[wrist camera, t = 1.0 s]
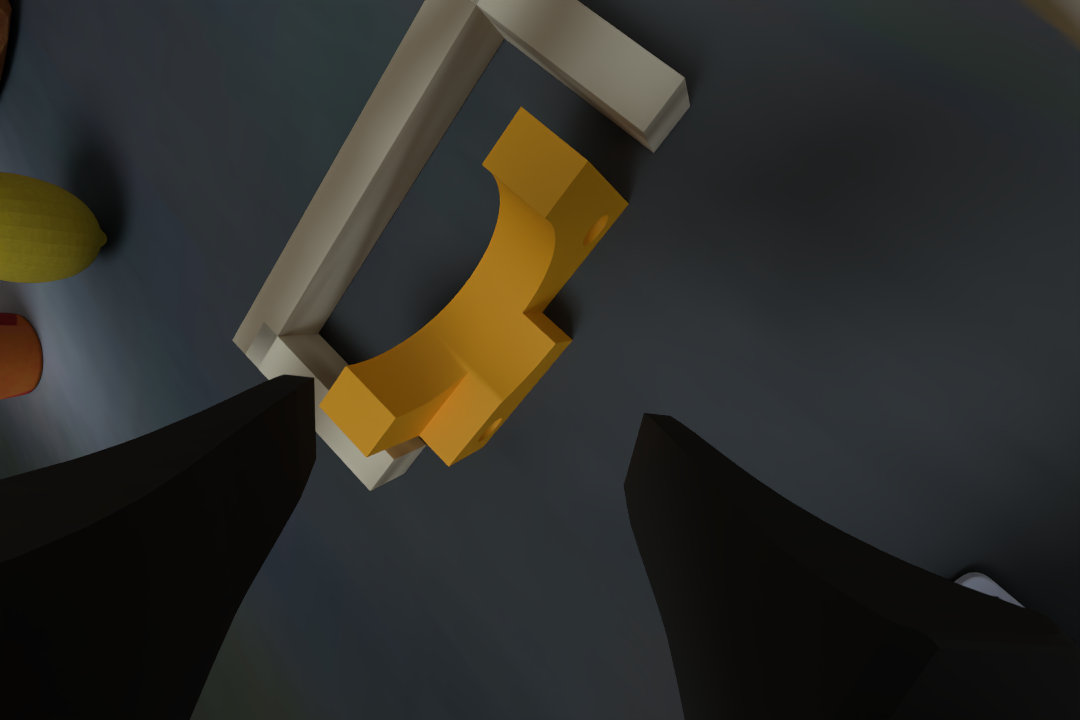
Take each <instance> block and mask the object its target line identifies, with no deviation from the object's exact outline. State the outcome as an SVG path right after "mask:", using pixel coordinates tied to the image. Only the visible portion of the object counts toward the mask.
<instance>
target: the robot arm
mask: <svg viewBox="0 0 1080 720" xmlns="http://www.w3.org/2000/svg"><path fill="white" fill-rule="evenodd" d="M315 460H316V430H315V383H314V377H305V376H296V375H286V374H283V375H281V376H278V377H275V378H273V379H270V380H268V381H266V382H263V383H261V384H259V385H257V386H255V387H253V388H250V389H248V390H246V391H244V392H242V393H240V394H238V395H236V396H233V397H231V398H229V399H227V400H225V401H223V402H221V403H218V404H216V405H214V406H212V407H210V408H208V409H206V410H203V411H201V412H199V413H196V414H194V415H192V416H189V417H187V418H185V419H182V420H180V421H177V422H175V423H173V424H170V425H168V426H165V427H163V428H161V429H158V430H156V431H154V432H151V433H149V434H146V435H143V436H141V437H138V438H136V439H133V440H130V441H127V442H125V443H122V444H119V445H116V446H113V447H110V448H107V449H104V450H101V451H98V452H95V453H92V454H89V455H86V456H83V457H80V458H76V459H73V460H70V461H66V462H63V463H59V464H55V465H52V466H48V467H44V468H41V469H37V470H33V471H30V472H26V473H23V474H19V475H15V476H12V477H8V478H4V479H1V480H0V720H190V718H191V715H192V713H193V710H194V708H195V706H196V703H197V701H198V699H199V696H200V694H201V691H202V689H203V687H204V684H205V682H206V680H207V677H208V675H209V673H210V670H211V668H212V665H213V663H214V661H215V659H216V656H217V654H218V652H219V650H220V647H221V645H222V643H223V641H224V638H225V636H226V634H227V632H228V629H229V627H230V625H231V623H232V621H233V618H234V616H235V614H236V612H237V610H238V608H239V606H240V604H241V602H242V600H243V598H244V597H245V595H246V593H247V591H248V589H249V587H250V586H251V584H252V582H253V580H254V579H255V577H256V575H257V573H258V572H259V570H260V568H261V567H262V565H263V563H264V561H265V560H266V558H267V556H268V554H269V553H270V551H271V549H272V547H273V546H274V544H275V542H276V541H277V539H278V537H279V535H280V534H281V532H282V530H283V528H284V527H285V525H286V523H287V521H288V520H289V518H290V516H291V514H292V512H293V511H294V509H295V507H296V505H297V503H298V502H299V500H300V498H301V495H302V493H303V491H304V488H305V486H306V483H307V481H308V478H309V476H310V473H311V470H312V468H313V465H314V463H315ZM624 490H625V496H626V502H627V508H628V513H629V518H630V523H631V527H632V530H633V533H634V536H635V539H636V542H637V546H638V549H639V552H640V555H641V558H642V561H643V564H644V567H645V569H646V572H647V575H648V578H649V581H650V584H651V587H652V590H653V593H654V596H655V599H656V602H657V605H658V608H659V611H660V614H661V617H662V621H663V624H664V627H665V631H666V634H667V638H668V643H669V647H670V652H671V656H672V660H673V665H674V669H675V674H676V678H677V683H678V687H679V692H680V697H681V702H682V707H683V712H684V717H685V720H1080V646H1079V645H1078V644H1076V643H1075V642H1074V641H1073V640H1072V639H1071V638H1070V637H1069V636H1068V635H1067V634H1065V633H1064V632H1063V631H1062V630H1061V629H1060V628H1059V627H1058V626H1057V625H1056V624H1054V623H1053V622H1052V621H1050V620H1049V619H1048V618H1046V617H1045V616H1044V615H1042V614H1040V613H1038V612H1035V611H1032V610H1029V609H1027V608H1025V607H1024V606H1023V605H1021V604H1020V603H1019V602H1018V601H1017V600H1015V599H1014V598H1013V597H1012V596H1011V595H1009V594H1008V593H1007V592H1006V591H1005V590H1004V589H1002V588H1001V587H1000V586H999V585H998V584H996V583H995V582H994V581H993V580H992V579H990V578H989V577H988V576H986V575H984V574H982V573H977V572H972V573H967V574H965V575H963V576H961V577H960V578H959V579H957V580H956V581H955V582H953V581H950V580H948V579H945V578H943V577H941V576H938V575H936V574H933V573H931V572H929V571H926V570H924V569H922V568H919V567H917V566H914V565H912V564H910V563H907V562H905V561H903V560H901V559H899V558H896V557H894V556H892V555H890V554H888V553H885V552H883V551H881V550H879V549H877V548H875V547H873V546H871V545H869V544H867V543H865V542H863V541H861V540H859V539H857V538H855V537H853V536H851V535H849V534H847V533H845V532H843V531H841V530H839V529H837V528H836V527H834V526H832V525H830V524H828V523H826V522H825V521H823V520H821V519H819V518H818V517H816V516H814V515H813V514H811V513H809V512H807V511H806V510H804V509H802V508H801V507H799V506H797V505H795V504H794V503H792V502H791V501H789V500H787V499H786V498H784V497H783V496H781V495H780V494H778V493H777V492H775V491H774V490H772V489H771V488H769V487H768V486H766V485H765V484H763V483H762V482H760V481H759V480H757V479H756V478H754V477H753V476H752V475H750V474H749V473H747V472H746V471H745V470H743V469H742V468H741V467H739V466H738V465H736V464H735V463H734V462H732V461H731V460H730V459H728V458H727V457H726V456H724V455H723V454H722V453H720V452H719V451H718V450H717V449H715V448H714V447H713V446H711V445H710V444H709V443H707V442H706V441H705V440H703V439H702V438H701V437H700V436H698V435H697V434H696V433H694V432H693V431H692V430H690V429H689V428H688V427H686V426H685V425H683V424H682V423H681V422H679V421H677V420H676V419H674V418H673V417H671V416H666V415H657V414H648V413H644V415H643V419H642V422H641V426H640V430H639V433H638V437H637V440H636V444H635V447H634V451H633V454H632V458H631V462H630V465H629V469H628V472H627V476H626V479H625V483H624ZM993 596H998V597H999V598H996V597H993Z"/></svg>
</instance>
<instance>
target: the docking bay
mask: <svg viewBox="0 0 1080 720" xmlns="http://www.w3.org/2000/svg"><path fill="white" fill-rule="evenodd" d="M504 38H505V39H506V40H507V41H509V42H510V43H511V44H512V45H514V46H515V47H516V48H518V49H519V50H520V51H522V52H523V53H524V54H525V55H527V56H528V57H529V58H531V59H532V60H533V61H535V62H536V63H537V64H538V65H540V66H541V67H542V68H544V69H545V70H546V71H548V72H549V73H550V74H551V75H553V76H554V77H555V78H557V79H558V80H559V81H561V82H562V83H563V84H564V85H566V86H567V87H568V88H570V89H571V90H572V91H574V92H575V93H576V94H577V95H579V96H580V97H581V98H583V99H584V100H585V101H587V102H588V103H589V104H590V105H592V106H593V107H594V108H596V109H597V110H598V111H600V112H601V113H602V114H603V115H605V116H606V117H607V118H609V119H610V120H611V121H613V122H614V123H615V124H616V125H618V126H619V127H620V128H622V129H623V130H624V131H625V132H627V133H628V134H629V135H631V136H632V137H633V138H635V139H636V140H637V141H638V142H640V143H641V144H642V145H644V146H645V147H646V148H648V149H649V150H650V151H651V152H653V153H654V152H655V151H656V150H657V148H658V147H659V146H660V144H661V143H662V142H663V141H664V139H665V138H666V137H667V135H668V134H669V133H670V132H671V130H672V129H673V128H674V127H675V125H676V124H677V123H678V121H679V120H680V119H681V118H682V116H683V115H684V114H685V112H686V111H687V110H688V109H689V107H690V103H689V97H688V92H687V87H686V81H685V78H684V77H683V76H682V75H680V74H679V73H677V72H676V71H675V70H673V69H672V68H670V67H669V66H668V65H666V64H665V63H664V62H662V61H661V60H659V59H658V58H657V57H655V56H654V55H652V54H651V53H650V52H648V51H647V50H645V49H644V48H643V47H641V46H640V45H639V44H637V43H636V42H634V41H633V40H632V39H630V38H629V37H627V36H626V35H625V34H623V33H622V32H621V31H619V30H618V29H616V28H615V27H614V26H612V25H611V24H609V23H608V22H607V21H605V20H604V19H602V18H601V17H600V16H598V15H597V14H596V13H594V12H593V11H591V10H590V9H589V8H587V7H586V6H584V5H583V4H582V3H580V2H579V1H577V0H425V2H424V3H423V5H422V7H421V9H420V10H419V12H418V14H417V16H416V17H415V19H414V21H413V23H412V25H411V26H410V28H409V30H408V32H407V33H406V35H405V37H404V39H403V40H402V42H401V44H400V46H399V47H398V49H397V51H396V53H395V54H394V56H393V58H392V60H391V62H390V63H389V65H388V67H387V69H386V70H385V72H384V74H383V76H382V77H381V79H380V81H379V83H378V84H377V86H376V88H375V90H374V92H373V93H372V95H371V97H370V99H369V100H368V102H367V104H366V106H365V107H364V109H363V111H362V113H361V114H360V116H359V118H358V120H357V122H356V123H355V125H354V127H353V129H352V130H351V132H350V134H349V136H348V137H347V139H346V141H345V143H344V144H343V146H342V148H341V150H340V151H339V153H338V155H337V157H336V159H335V160H334V162H333V164H332V166H331V167H330V169H329V171H328V173H327V174H326V176H325V178H324V180H323V181H322V183H321V185H320V187H319V189H318V190H317V192H316V194H315V196H314V197H313V199H312V201H311V203H310V204H309V206H308V208H307V210H306V211H305V213H304V215H303V217H302V219H301V220H300V222H299V224H298V226H297V227H296V229H295V231H294V233H293V234H292V236H291V238H290V240H289V241H288V243H287V245H286V247H285V248H284V250H283V252H282V254H281V256H280V257H279V259H278V261H277V263H276V264H275V266H274V268H273V270H272V271H271V273H270V275H269V277H268V278H267V280H266V282H265V284H264V286H263V287H262V289H261V291H260V293H259V294H258V296H257V298H256V300H255V301H254V303H253V305H252V307H251V308H250V310H249V312H248V314H247V316H246V317H245V319H244V321H243V323H242V324H241V326H240V328H239V330H238V331H237V333H236V335H235V337H234V338H233V341H234V343H235V344H236V345H237V346H238V347H239V348H240V349H241V350H242V351H243V352H244V353H245V355H246V356H247V357H248V358H249V359H250V360H251V361H252V362H253V363H254V364H255V366H256V367H257V368H258V369H259V370H260V371H261V372H262V373H263V374H264V375H265V376H266V378H267V379H268V380H270V379H273V378H275V377H278V376H281V375H283V374H286V375H296V376H305V377H314V383H315V430H316V432H317V433H318V434H319V435H320V437H321V438H322V439H323V440H324V441H325V442H326V443H327V444H328V445H329V446H330V448H331V449H332V450H333V451H334V452H335V453H336V454H337V455H338V456H339V457H340V458H341V460H342V461H343V462H344V463H345V464H346V465H347V466H348V467H349V468H350V469H351V470H352V472H353V473H354V474H355V475H356V476H357V477H358V478H359V479H360V480H361V481H362V482H363V484H364V485H365V486H366V487H367V488H368V489H369V490H370V491H371V490H373V489H375V488H377V487H379V486H381V485H383V484H385V483H387V482H389V481H391V480H393V479H395V478H396V477H398V476H400V475H402V474H404V473H405V472H406V470H407V469H408V468H409V467H410V465H411V464H412V463H413V461H414V460H415V459H416V458H417V456H418V455H419V454H420V452H421V451H422V450H423V449H424V447H425V446H426V444H425V443H424V442H423V441H422V440H421V439H420V438H419V437H418V436H417V437H415V438H412V439H410V440H407V441H405V442H403V443H400V444H398V445H395V446H393V447H391V448H388V449H386V450H383V451H381V452H379V453H376V454H374V455H371V456H369V457H365V456H364V454H363V453H362V452H361V451H360V450H359V449H358V448H357V447H356V446H355V445H354V444H353V443H352V441H351V440H350V439H349V438H348V437H347V436H346V435H345V434H344V433H343V432H342V431H341V430H340V428H339V427H338V426H337V425H336V424H335V423H334V422H333V421H332V420H331V419H330V418H329V417H328V415H327V414H326V413H325V412H324V411H323V410H322V409H321V408H320V407H319V405H320V403H321V402H322V400H323V399H324V397H325V396H326V395H327V393H328V392H329V390H330V389H331V387H332V386H333V384H334V383H335V381H336V380H337V378H338V377H339V375H340V374H341V372H342V371H343V369H344V368H345V366H348V364H347V363H346V362H345V361H344V360H343V358H342V357H341V356H340V355H339V354H338V353H337V352H336V351H335V350H334V349H333V348H332V347H331V346H330V345H329V344H328V343H327V342H326V341H325V340H324V339H323V338H322V337H321V336H320V335H319V332H320V330H321V329H322V327H323V326H324V324H325V322H326V321H327V319H328V318H329V316H330V314H331V313H332V311H333V310H334V308H335V307H336V305H337V303H338V302H339V300H340V299H341V297H342V295H343V294H344V292H345V291H346V289H347V287H348V286H349V284H350V283H351V281H352V280H353V278H354V276H355V275H356V273H357V272H358V270H359V268H360V267H361V265H362V264H363V262H364V261H365V259H366V257H367V256H368V254H369V253H370V251H371V249H372V248H373V246H374V245H375V243H376V241H377V240H378V238H379V237H380V235H381V234H382V232H383V230H384V229H385V227H386V226H387V224H388V222H389V221H390V219H391V218H392V216H393V214H394V213H395V211H396V210H397V208H398V207H399V205H400V203H401V202H402V200H403V199H404V197H405V195H406V194H407V192H408V191H409V189H410V188H411V186H412V184H413V183H414V181H415V180H416V178H417V176H418V175H419V173H420V172H421V170H422V168H423V167H424V165H425V164H426V162H427V161H428V159H429V157H430V156H431V154H432V153H433V151H434V149H435V148H436V146H437V145H438V143H439V141H440V140H441V138H442V137H443V135H444V134H445V132H446V130H447V129H448V127H449V126H450V124H451V122H452V121H453V119H454V118H455V116H456V114H457V113H458V111H459V110H460V108H461V107H462V105H463V103H464V102H465V100H466V99H467V97H468V95H469V94H470V92H471V91H472V89H473V88H474V86H475V84H476V83H477V81H478V80H479V78H480V76H481V75H482V73H483V72H484V70H485V68H486V67H487V65H488V64H489V62H490V61H491V59H492V57H493V56H494V54H495V53H496V51H497V49H498V48H499V46H500V45H501V43H502V41H503V40H504Z"/></svg>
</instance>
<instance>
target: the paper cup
mask: <svg viewBox="0 0 1080 720" xmlns="http://www.w3.org/2000/svg"><path fill="white" fill-rule="evenodd" d="M42 368H43V356H42V349H41V345H40V341H39V338H38V336H37V334H36V332H35V330H34V328H33V327H32V325H31V324H30V323H29V321H28V320H26V319H25V318H24V317H22V316H21V315H18V314H12V313H0V399H5V398H11V397H15V396H20V395H24V394H28V393H30V392H32V391H33V390H34V389H35V388H36V387H37V385H38V383H39V381H40V378H41V375H42Z"/></svg>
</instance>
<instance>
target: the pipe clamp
mask: <svg viewBox="0 0 1080 720" xmlns="http://www.w3.org/2000/svg"><path fill="white" fill-rule="evenodd" d="M482 165H483V166H484V167H486V168H487V169H488V170H489V171H490V172H491V173H492V174H493V176H494V178H495V179H496V181H497V184H498V187H499V193H500V209H499V216H498V221H497V224H496V228H495V231H494V234H493V236H492V239H491V241H490V244H489V246H488V248H487V250H486V252H485V254H484V256H483V258H482V259H481V261H480V263H479V265H478V266H477V268H476V269H475V271H474V272H473V274H472V275H471V277H470V278H469V279H468V281H467V282H466V284H465V285H464V286H463V287H462V289H461V290H460V291H459V292H458V294H457V295H456V296H455V297H454V298H453V299H452V300H451V302H450V303H449V304H448V305H447V306H446V307H445V308H444V309H443V310H442V311H441V312H440V313H439V314H438V315H437V316H436V317H434V318H433V319H432V320H431V321H430V322H429V323H428V324H427V325H425V326H424V327H423V328H422V329H420V330H419V331H418V332H416V333H415V334H414V335H412V336H411V337H410V338H408V339H407V340H405V341H404V342H402V343H401V344H399V345H397V346H396V347H394V348H392V349H390V350H389V351H387V352H385V353H383V354H381V355H378V356H376V357H374V358H372V359H369V360H366V361H363V362H360V363H357V364H352V365H348V366H345V368H344V369H343V371H342V372H341V374H340V375H339V377H338V378H337V380H336V381H335V383H334V384H333V386H332V387H331V389H330V390H329V392H328V393H327V395H326V396H325V397H324V399H323V400H322V402H321V403H320V405H319V407H320V408H321V409H322V410H323V411H324V412H325V413H326V414H327V415H328V417H329V418H330V419H331V420H332V421H333V422H334V423H335V424H336V425H337V426H338V427H339V428H340V430H341V431H342V432H343V433H344V434H345V435H346V436H347V437H348V438H349V439H350V440H351V441H352V443H353V444H354V445H355V446H356V447H357V448H358V449H359V450H360V451H361V452H362V453H363V454H364V456H365V457H369V456H371V455H374V454H376V453H379V452H381V451H383V450H386V449H388V448H391V447H393V446H395V445H398V444H400V443H403V442H405V441H407V440H410V439H412V438H415V437H417V436H420V437H421V438H422V439H423V440H424V441H425V442H426V443H427V444H428V445H429V447H430V448H431V449H432V450H433V451H434V452H435V453H436V454H437V455H438V456H439V457H440V458H441V459H442V460H443V461H444V462H445V463H446V464H447V465H448V466H451V465H452V464H454V463H456V462H458V461H459V460H461V459H463V458H465V457H466V456H468V455H470V454H472V453H473V452H475V451H477V450H479V449H480V448H482V447H483V446H484V445H485V444H486V443H487V442H488V440H489V439H490V438H491V437H492V436H493V434H494V433H495V432H496V431H497V430H498V428H499V427H500V426H501V425H502V424H503V422H504V421H505V420H506V419H507V418H508V417H509V415H510V414H511V413H512V412H513V411H514V409H515V408H516V407H517V406H518V405H519V403H520V402H521V401H522V400H523V399H524V397H525V396H526V395H527V394H528V393H529V391H530V390H531V389H532V388H533V387H534V385H535V384H536V383H537V382H538V381H539V379H540V378H541V377H542V376H543V375H544V374H545V372H546V371H547V370H548V369H549V368H550V366H551V365H552V364H553V363H554V362H555V360H556V359H557V358H558V357H559V356H560V354H561V353H562V352H563V351H564V350H565V348H566V347H567V346H568V345H569V344H570V342H571V341H572V339H571V338H570V337H569V336H567V335H566V334H565V333H564V332H563V331H562V330H561V329H560V328H559V327H558V326H556V325H555V324H554V323H553V322H552V321H551V320H550V319H549V318H548V317H547V316H545V315H544V314H543V313H542V312H543V311H544V310H545V308H546V307H547V306H548V305H549V303H550V302H551V301H552V300H553V298H554V297H555V296H556V295H557V293H558V292H559V291H560V290H561V288H562V287H563V286H564V284H565V283H566V282H567V281H568V279H569V278H570V277H571V276H572V274H573V273H574V272H575V271H576V269H577V268H578V267H579V266H580V264H581V263H582V262H583V261H584V259H585V258H586V257H587V256H588V254H589V253H590V252H591V251H592V249H593V248H594V247H595V246H596V244H597V243H598V242H599V241H600V239H601V238H602V237H603V236H604V234H605V233H606V232H607V231H608V229H609V228H610V227H611V226H612V224H613V223H614V222H615V221H616V219H617V218H618V217H619V215H620V214H621V213H622V212H623V210H624V209H625V208H626V207H627V205H628V204H629V203H628V202H627V201H626V200H625V199H624V198H623V197H622V196H621V195H620V194H619V193H618V192H617V191H616V190H615V189H614V188H613V187H612V186H611V184H610V183H609V182H608V181H607V180H606V179H605V178H604V177H603V176H602V175H601V174H600V173H599V172H598V171H597V170H596V169H595V168H594V167H593V165H592V164H591V163H590V162H589V161H588V160H586V159H585V158H584V157H583V156H582V155H580V154H579V153H578V152H577V151H575V150H574V149H573V148H572V147H570V146H569V145H568V144H567V143H565V142H564V141H563V140H562V139H561V138H559V137H558V136H557V135H556V134H554V133H553V132H552V131H551V130H549V129H548V128H547V127H546V126H544V125H543V124H542V123H541V122H540V121H538V120H537V119H536V118H535V117H533V116H532V115H531V114H530V113H528V112H527V111H526V110H525V109H523V108H522V107H521V108H520V109H519V111H518V112H517V113H516V115H515V116H514V118H513V119H512V121H511V122H510V124H509V125H508V127H507V128H506V130H505V131H504V133H503V134H502V136H501V137H500V139H499V140H498V142H497V143H496V145H495V146H494V147H493V149H492V150H491V152H490V153H489V155H488V156H487V158H486V159H485V161H484V162H483V164H482Z"/></svg>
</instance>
